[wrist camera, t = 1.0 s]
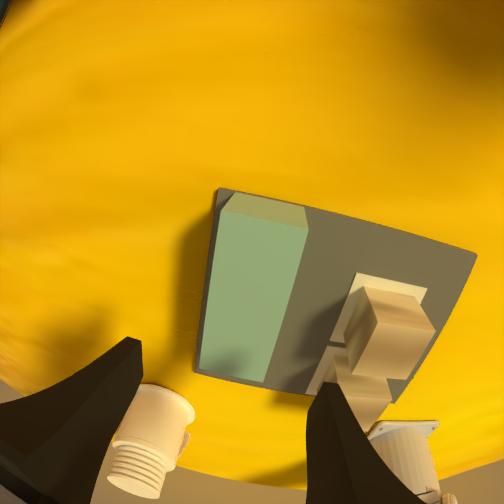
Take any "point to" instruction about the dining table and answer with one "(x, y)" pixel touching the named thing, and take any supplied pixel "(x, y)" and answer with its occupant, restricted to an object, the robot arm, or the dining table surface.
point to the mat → (347, 292)
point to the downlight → (150, 440)
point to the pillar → (386, 334)
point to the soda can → (4, 9)
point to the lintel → (251, 283)
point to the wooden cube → (359, 391)
